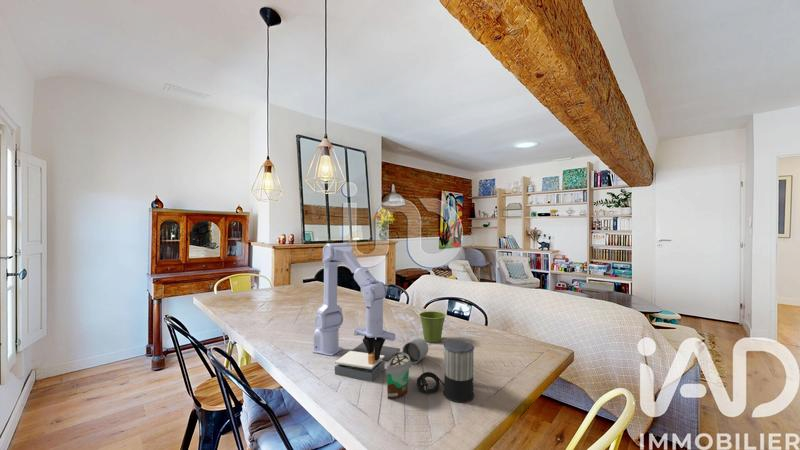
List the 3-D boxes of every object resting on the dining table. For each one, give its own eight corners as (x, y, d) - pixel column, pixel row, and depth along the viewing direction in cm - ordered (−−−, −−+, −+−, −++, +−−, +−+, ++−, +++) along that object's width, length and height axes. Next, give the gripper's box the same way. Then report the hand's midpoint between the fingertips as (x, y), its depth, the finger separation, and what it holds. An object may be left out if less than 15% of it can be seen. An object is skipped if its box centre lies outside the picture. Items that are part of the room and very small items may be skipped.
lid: (334, 365, 108) (334, 353, 108) (350, 354, 117) (349, 343, 117) (371, 371, 102) (371, 358, 102) (384, 358, 112) (384, 347, 112)
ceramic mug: (429, 357, 121) (429, 337, 121) (420, 366, 114) (420, 344, 114) (405, 352, 126) (405, 333, 126) (395, 360, 119) (394, 339, 119)
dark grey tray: (334, 374, 108) (334, 366, 108) (349, 362, 117) (349, 355, 117) (371, 381, 102) (371, 373, 102) (384, 368, 112) (384, 361, 112)
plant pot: (450, 338, 141) (450, 313, 141) (438, 347, 131) (438, 320, 131) (426, 333, 148) (426, 309, 148) (414, 341, 138) (414, 315, 138)
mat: (347, 354, 124) (347, 353, 124) (362, 343, 135) (362, 342, 135) (387, 361, 118) (387, 360, 118) (399, 349, 129) (399, 348, 129)
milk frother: (480, 400, 92) (480, 349, 92) (429, 409, 87) (429, 355, 87) (458, 377, 105) (458, 333, 105) (413, 384, 101) (413, 337, 101)
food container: (407, 404, 90) (407, 368, 90) (386, 401, 91) (386, 366, 91) (414, 382, 102) (414, 351, 102) (395, 380, 103) (395, 350, 103)
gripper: (349, 319, 107) (349, 359, 107) (389, 324, 101) (389, 367, 101) (359, 314, 113) (359, 352, 113) (397, 318, 108) (397, 358, 108)
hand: (374, 358), depth 108 cm, fingers closed on lid
